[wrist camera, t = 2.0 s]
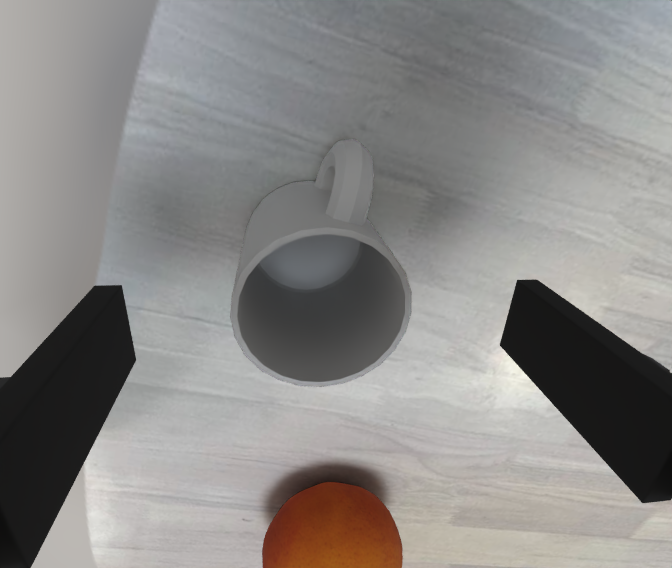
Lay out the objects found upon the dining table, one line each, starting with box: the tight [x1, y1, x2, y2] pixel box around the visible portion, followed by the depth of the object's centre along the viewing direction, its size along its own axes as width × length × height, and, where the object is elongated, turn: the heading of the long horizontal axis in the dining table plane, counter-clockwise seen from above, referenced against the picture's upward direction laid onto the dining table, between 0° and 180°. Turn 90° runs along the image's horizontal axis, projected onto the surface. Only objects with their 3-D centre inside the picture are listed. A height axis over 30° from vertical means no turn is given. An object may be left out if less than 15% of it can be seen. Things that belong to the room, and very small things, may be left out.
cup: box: [230, 139, 411, 387], centre depth 19 cm, size 7×10×9 cm
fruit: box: [262, 482, 403, 568], centre depth 31 cm, size 11×10×8 cm
